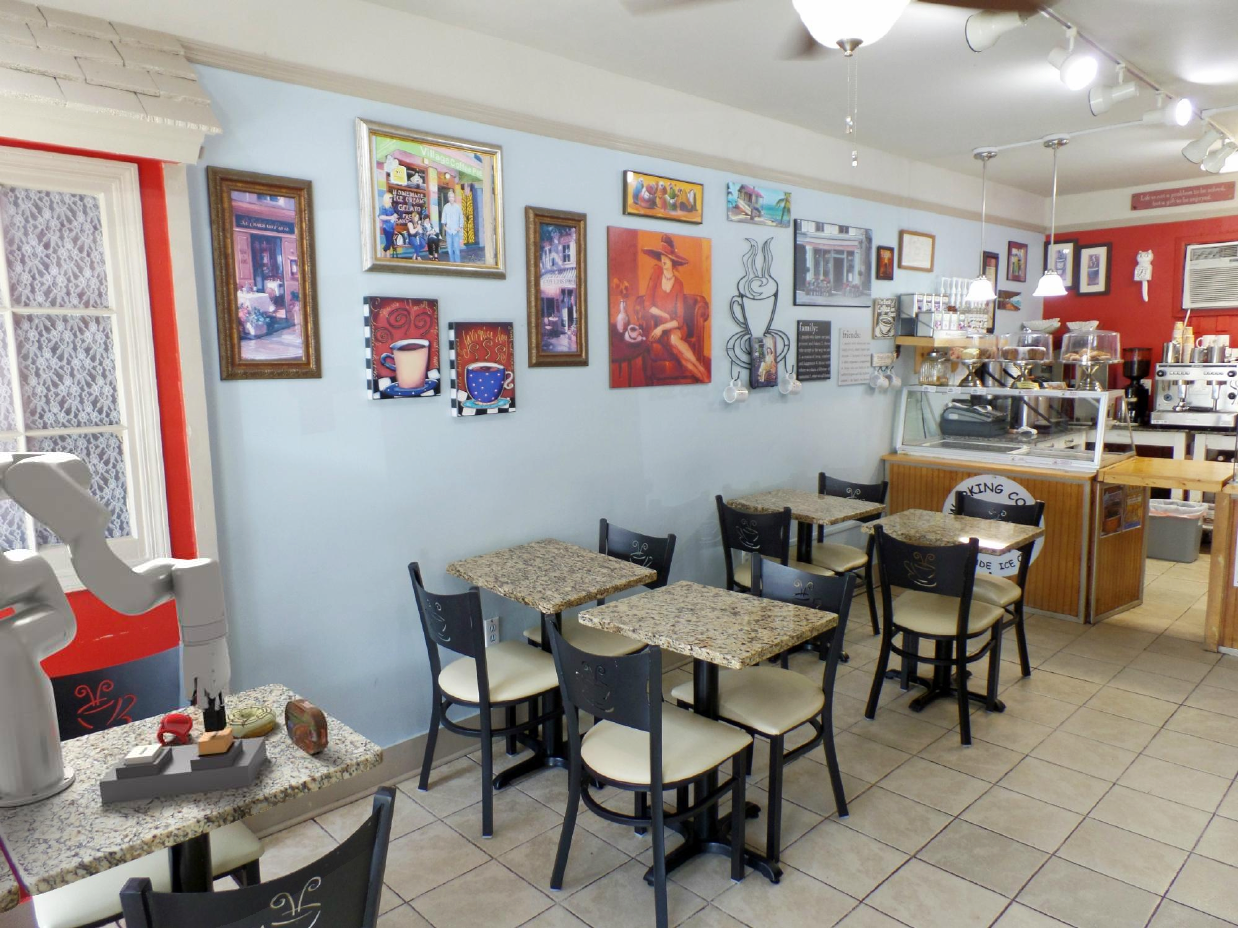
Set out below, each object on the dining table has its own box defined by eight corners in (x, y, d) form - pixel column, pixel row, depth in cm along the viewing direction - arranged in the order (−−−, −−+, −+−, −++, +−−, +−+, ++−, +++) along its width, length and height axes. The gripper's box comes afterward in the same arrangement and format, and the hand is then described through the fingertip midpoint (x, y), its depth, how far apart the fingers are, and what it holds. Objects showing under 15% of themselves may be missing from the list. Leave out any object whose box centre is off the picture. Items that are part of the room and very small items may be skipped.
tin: (284, 736, 161) (281, 696, 159) (300, 730, 163) (296, 691, 162) (316, 761, 150) (312, 718, 149) (333, 754, 152) (329, 712, 151)
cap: (187, 733, 156) (199, 707, 161) (154, 727, 155) (167, 701, 159) (185, 755, 161) (196, 728, 165) (153, 750, 159) (165, 723, 164)
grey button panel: (102, 803, 138) (97, 770, 137) (130, 771, 148) (126, 741, 148) (249, 786, 141) (246, 754, 140) (266, 756, 152) (263, 726, 151)
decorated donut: (238, 747, 157) (236, 729, 156) (209, 734, 163) (207, 716, 163) (287, 726, 165) (285, 708, 165) (258, 714, 171) (256, 697, 171)
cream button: (126, 771, 139) (124, 757, 138) (136, 759, 143) (135, 745, 143) (153, 768, 139) (151, 754, 139) (163, 756, 144) (161, 743, 143)
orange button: (198, 754, 140) (197, 741, 140) (207, 743, 145) (206, 729, 144) (225, 751, 141) (224, 738, 141) (233, 740, 145) (232, 727, 145)
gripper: (196, 618, 147) (208, 714, 149) (163, 646, 132) (177, 751, 135) (239, 614, 148) (250, 709, 150) (212, 642, 133) (224, 746, 136)
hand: (216, 729), depth 142 cm, fingers closed
